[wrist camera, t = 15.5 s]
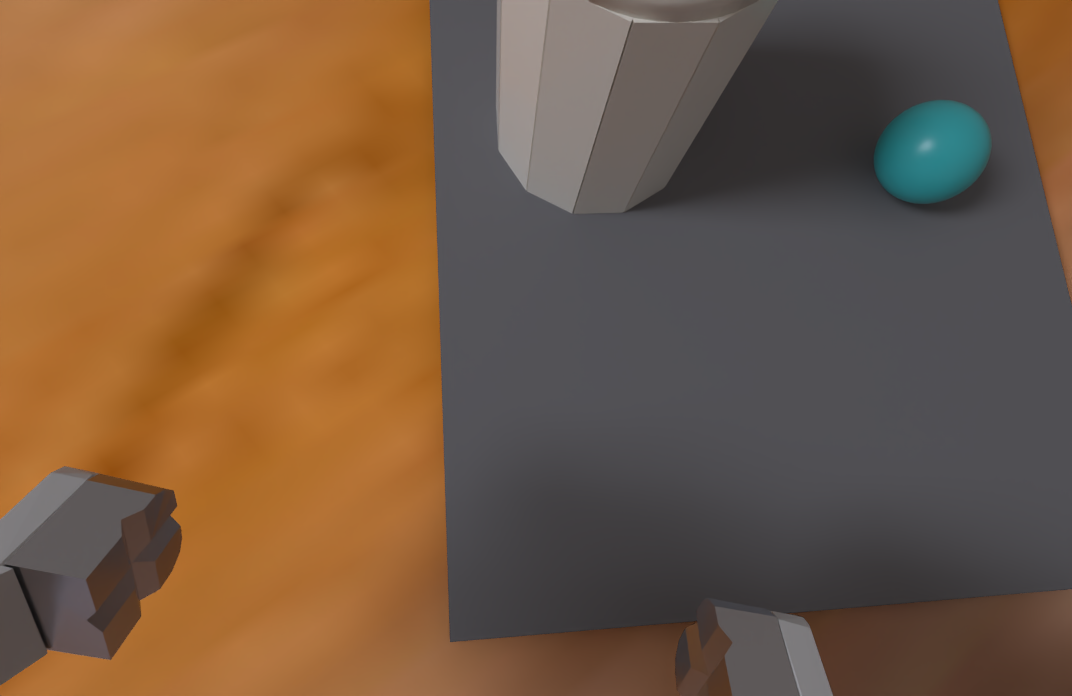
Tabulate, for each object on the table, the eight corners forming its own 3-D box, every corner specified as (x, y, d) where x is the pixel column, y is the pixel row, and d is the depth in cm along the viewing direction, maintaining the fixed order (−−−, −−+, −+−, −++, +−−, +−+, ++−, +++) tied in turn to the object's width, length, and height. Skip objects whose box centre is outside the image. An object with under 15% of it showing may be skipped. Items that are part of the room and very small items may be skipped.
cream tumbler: (692, 210, 19) (862, -13, 10) (501, 216, 19) (510, -13, 10) (672, 42, 20) (809, -285, 12) (492, 43, 20) (493, -298, 11)
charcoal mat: (1122, 580, 18) (1138, 583, 18) (451, 636, 17) (450, 641, 16) (973, -44, 23) (984, -56, 22) (429, -48, 21) (427, -60, 20)
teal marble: (949, 218, 20) (1029, 173, 17) (861, 221, 19) (927, 176, 17) (932, 134, 20) (1006, 77, 17) (846, 135, 20) (907, 78, 17)
